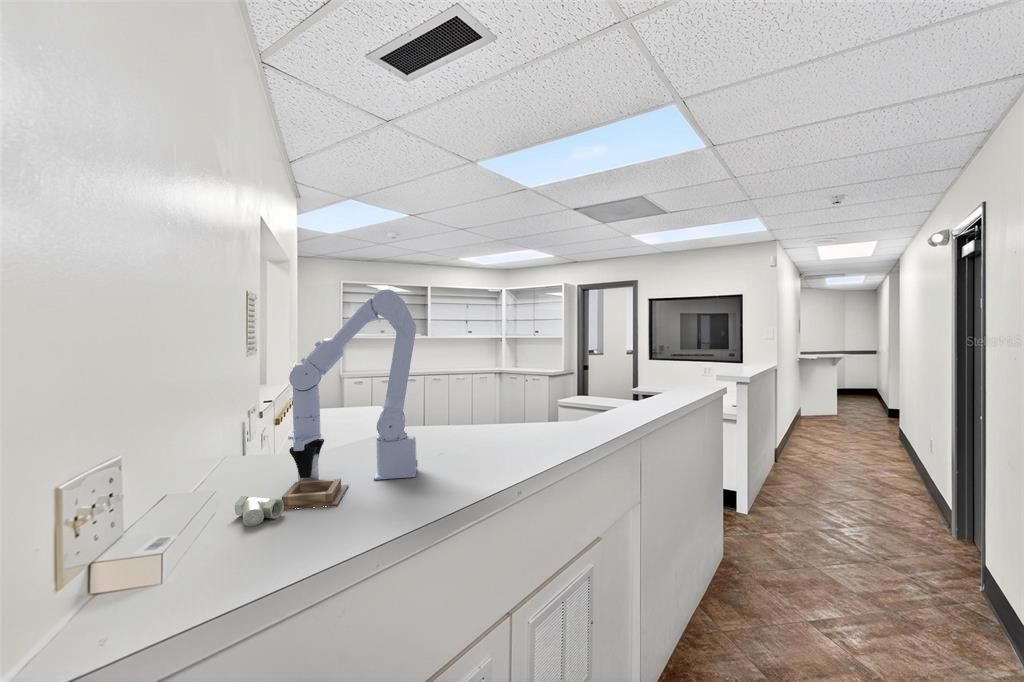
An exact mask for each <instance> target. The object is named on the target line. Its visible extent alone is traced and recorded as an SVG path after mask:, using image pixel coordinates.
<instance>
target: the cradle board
mask: <svg viewBox="0 0 1024 682" xmlns="http://www.w3.org/2000/svg"><path fill="white" fill-rule="evenodd" d="M348 488H349V484H342V479H341V478H331V479H330V478H329V479H319V480H314V481H299V482H298V481H295V482H294V483H293V484H292V485H291V486H290V487H289V489H287V491H286V492H285V493H284V494H283V495H282V496H281V499H280V500H283V503H284V510H283V511H288V510H287V509H295V508H296V509H297V508H310V509H314V508H313V507H323V506H324V507H323V508H329V507H328V506H336V507H338V506H339V505H340V503H339V502H341V501H342V499H343V497H344V496H343V495H345V494H346V492H347V490H348ZM345 491H346V492H345ZM344 493H345V494H344ZM340 500H341V501H340ZM338 504H339V505H338ZM325 506H327V507H325ZM297 510H298V509H297Z"/></svg>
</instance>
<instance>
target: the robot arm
mask: <svg viewBox="0 0 1024 682" xmlns="http://www.w3.org/2000/svg"><path fill="white" fill-rule="evenodd" d="M378 315H379V316H380V317H382V318H384V319H385V320H387V321H388V323H389V325H391V327H392V328H393V330H395V332H396V334H395V341H394V346H393V352H392V359H391V364H390V371H389V376H388V384H387V389H386V394H385V400H384V404H383V405H384V406H383V410H382V411H381V413H380V414H379V417H378V420H377V423H376V431H377V433H378V435H376V437H375V438H376V471H375V474H374V476H373V480H375V481H376V480H389V479H404V478H405V479H407V478H415V477H416V476H417V469H418V463H419V462H418V459H417V438H416V436H408V432H406V431H405V427H406V425H405V423H406V414H405V413H404V407H405V401H406V400H405V399H406V394H407V387H408V382H409V375H410V369H411V362H412V356H413V351H414V345H415V338H416V333H417V324H416V322H415V321H414V318H413V316H412V315H411V312H410V310H409V307H408V306H407V304H406V302H405V300H404V299H403V298H402V297H401V296H400V295H399V294H398V293H397V292H396V291H394V290H392V289H389V288H386V289H385V288H384V289H381V290H378V291H377V292H376V293H375V294H374V296H373V298H369V299H368V300H367V301H365V303H364V304H362V305H361V306H360V307H359V308H358V309H357V310H356V311H355V313H354V314H353V315H352V316H351V317H350V318H349V319H348V320H347V322H346V323H345V324H344V325H343V326H342V327H341V328H340V329H339V330H338V331H337V333H336V334H334V336H333V337H331V338H323V339H322V341H320V340H317V341H316V342H315V344H314V346H315V348H314V349H312V351H310V353H308V355H306V357H302V358H301V360H300V362H301V364H298V365H297V364H296V365H295V366H294V367H293V368H292V370H291V371H290V373H289V378H288V381H289V383H290V385H291V386H292V419H293V420H292V423H293V428H292V429H293V434H290V435H288V436H287V439H288V440H292V441H293V446H291V447H290V448H289V450H288V452H289V454H290V455H291V456H292V458H293V460H294V463H295V464H296V468H297V473H298V472H299V476H300V478H310V476H311V473H312V464H313V458H314V455H315V453H317V454H318V459H319V458H320V453H321V450H322V446H323V445H324V443H325V438H322V433H321V406H320V405H321V404H320V403H321V402H320V401H321V400H320V394H319V393H320V392H319V390H320V389H319V384H320V382H321V380H322V376H325V375H326V374H327V373H328V372H329V371H330V370H331V369H332V368H333V367H334V366H335V365H336V364H337V363H338V361H340V360H341V358H342V357H343V356H344V354H345V353H344V347H345V346H346V345H347V344H348V343H349V342H350V341H351V340H352V339H353V338H354V337H355V336H356V335H357V334H358V333H359V332H360V331H361V330H362V329H363V328H364V327H365V326H366V325H367V324H369V323H372V322H375V321H379V320H380V317H379V316H378Z"/></svg>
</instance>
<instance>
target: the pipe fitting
mask: <svg viewBox="0 0 1024 682" xmlns="http://www.w3.org/2000/svg"><path fill="white" fill-rule="evenodd" d="M284 511H285V510H284V503H283V500H281V499H279V498H264V497H253V496H243V495H242V496H240V497H239V498H238V499H237V501H236V502H235V504H234V514H235V515H236V516H242V522H243V524H244V525H245V526H247V527H255V526H259V525H260V524H262V523H263V521H264V519H276V520H277V519H279V518H280V517H281V516H282V514H283V512H284Z"/></svg>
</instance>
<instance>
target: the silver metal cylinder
mask: <svg viewBox="0 0 1024 682" xmlns="http://www.w3.org/2000/svg"><path fill="white" fill-rule="evenodd" d="M319 471H320V470H319V458H318V454H317V453H315V455H314V458H313V464H312V473H311V476H310V478H300V476H299V472H298V471H297V482H299V481H314V480H320V477H319V475H320V473H319Z"/></svg>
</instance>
